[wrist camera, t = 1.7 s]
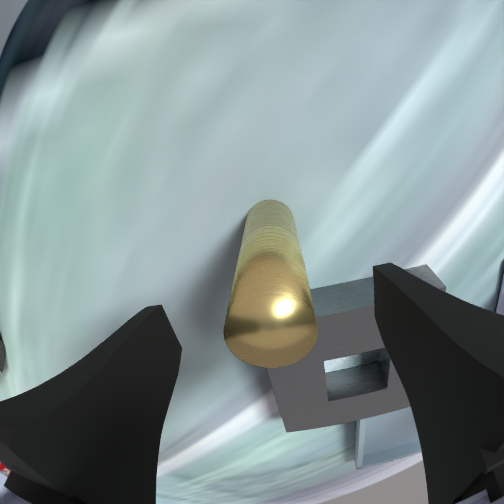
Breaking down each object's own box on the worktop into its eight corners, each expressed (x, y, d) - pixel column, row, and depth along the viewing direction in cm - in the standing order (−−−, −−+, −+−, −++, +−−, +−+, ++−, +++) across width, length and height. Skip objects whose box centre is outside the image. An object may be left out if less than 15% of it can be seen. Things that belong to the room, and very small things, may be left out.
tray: (477, 358, 22) (487, 372, 20) (450, 426, 28) (455, 439, 26) (356, 395, 24) (360, 414, 22) (354, 455, 29) (356, 469, 27)
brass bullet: (288, 195, 17) (311, 288, 8) (298, 239, 18) (322, 359, 9) (241, 205, 18) (211, 305, 9) (252, 248, 19) (237, 372, 10)
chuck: (426, 264, 18) (445, 286, 16) (413, 378, 23) (423, 402, 21) (256, 299, 20) (254, 327, 17) (286, 405, 25) (286, 432, 22)
